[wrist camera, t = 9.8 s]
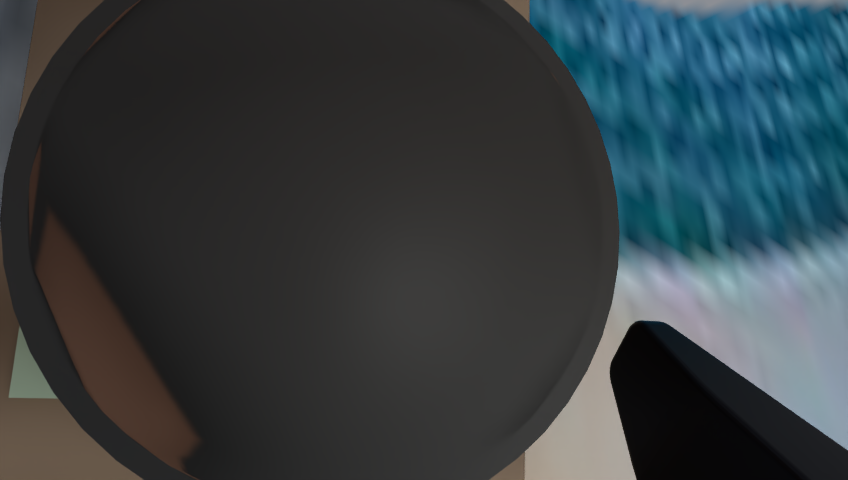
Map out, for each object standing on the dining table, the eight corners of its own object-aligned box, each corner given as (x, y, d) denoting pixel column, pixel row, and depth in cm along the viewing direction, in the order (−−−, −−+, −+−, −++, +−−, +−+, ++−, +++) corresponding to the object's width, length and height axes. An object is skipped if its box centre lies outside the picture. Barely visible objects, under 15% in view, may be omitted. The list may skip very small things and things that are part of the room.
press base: (495, 868, 15) (573, 1050, 11) (-86, 970, 12) (-250, 1264, 8) (509, -34, 19) (570, -126, 15) (82, -119, 16) (25, -259, 12)
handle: (392, 428, 13) (798, 720, 3) (149, 426, 12) (-468, 888, 2) (402, 208, 14) (748, -126, 4) (176, 187, 13) (-153, -368, 3)
